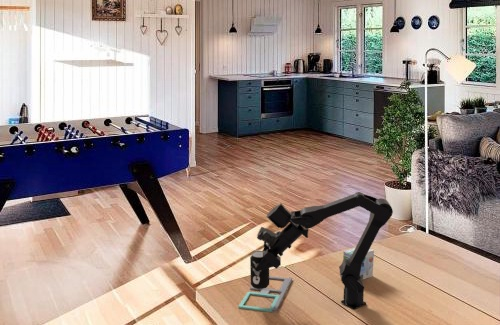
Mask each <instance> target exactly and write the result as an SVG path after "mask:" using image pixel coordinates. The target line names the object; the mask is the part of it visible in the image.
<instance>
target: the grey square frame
mask: <svg viewBox="0 0 500 325" xmlns="http://www.w3.org/2000/svg"><path fill="white" fill-rule="evenodd" d="M288 278H289V277H280V276H271V275H269V280H277V281H282V284H281V286H280V287H279V289H274V288H268V287H266V288H264V289H256V288H254V287H252V285H251V286H250V288H249V290H253V291H259V292H261V290H270V292H269V293H276V294H277V293H278V294H281V292H282V290H283V288H284V286H285V284H286V282H287V280H288Z"/></svg>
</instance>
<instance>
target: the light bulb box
mask: <svg viewBox="0 0 500 325" xmlns="http://www.w3.org/2000/svg"><path fill="white" fill-rule="evenodd" d="M355 248H356V247H354V248H351V249H347V250H344V251H343V259H344V258H345V259H347V260H348V259H349V258H350V257H351V256H352V254H353V252H354V250H355ZM374 256H375V250H373V249H371V248H370V249H369V251H368V253H367V255H366V257H365V259H364V261H363V263H362V266H361V272H360V276H361V279H362V281H363V280H366V279H368V278H372V277H373V275H374V258H375V257H374ZM343 259H342V260H343Z"/></svg>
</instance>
